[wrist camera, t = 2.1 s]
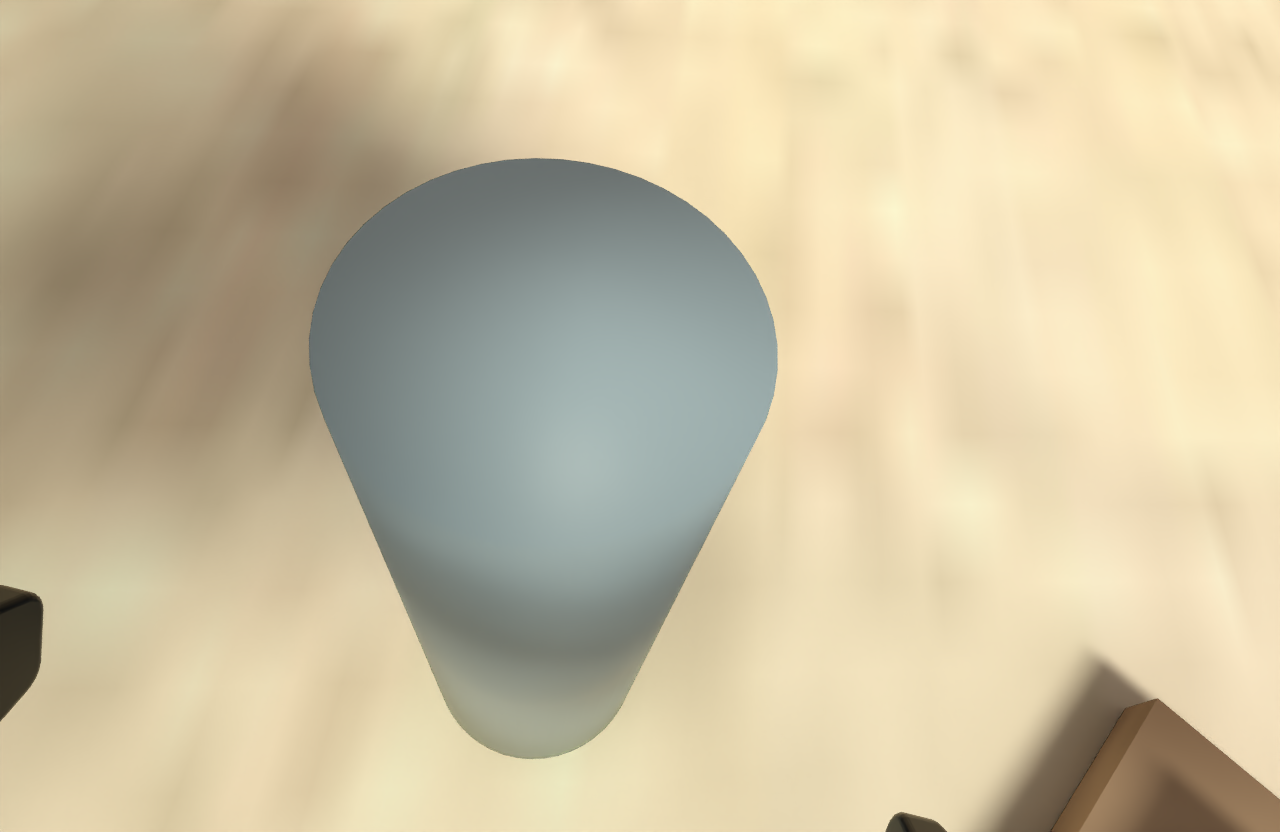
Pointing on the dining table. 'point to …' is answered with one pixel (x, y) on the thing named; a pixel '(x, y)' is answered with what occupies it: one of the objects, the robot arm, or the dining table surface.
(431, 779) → the dining table surface
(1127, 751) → the cradle board
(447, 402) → the pale blue cylinder
